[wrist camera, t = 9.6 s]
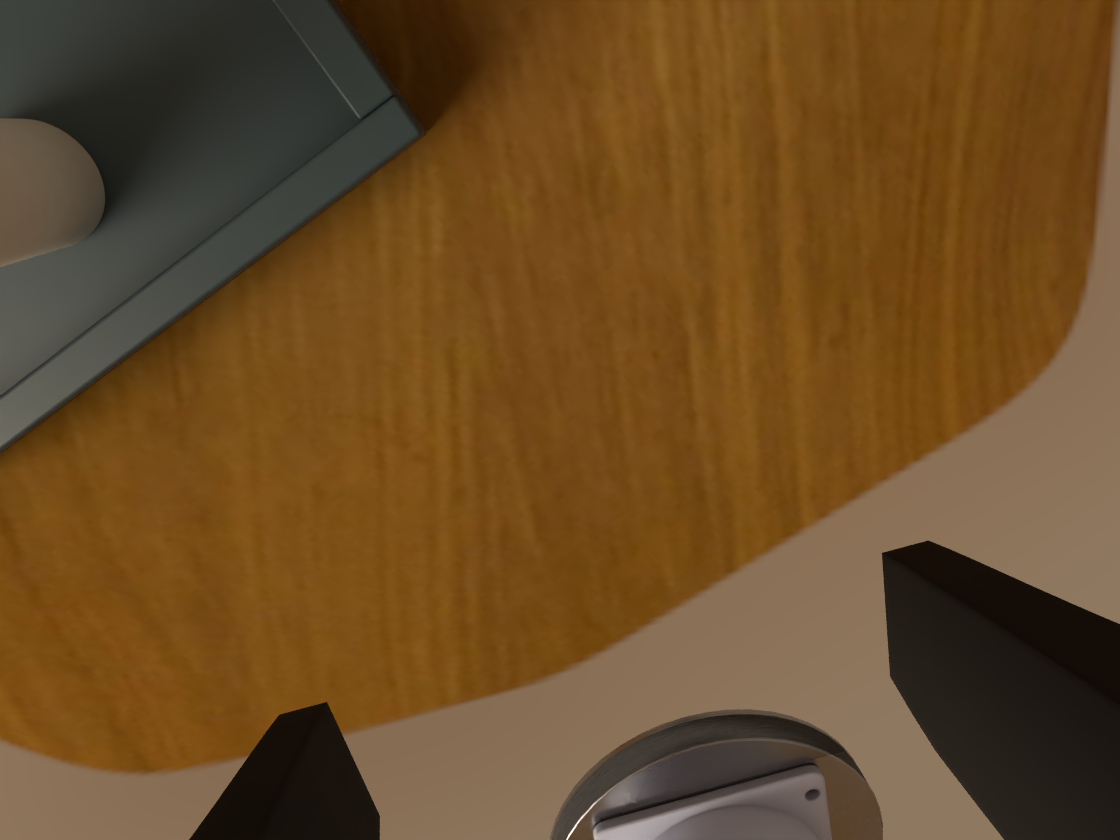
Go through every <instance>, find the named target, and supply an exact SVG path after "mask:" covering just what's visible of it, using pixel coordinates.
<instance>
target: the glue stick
mask: <svg viewBox="0 0 1120 840" xmlns="http://www.w3.org/2000/svg"><path fill="white" fill-rule="evenodd" d="M104 206H105V191H104V185H103V181H102V177H101V175H100V172H99V170H98V168H97V166H96V164H95V162H94V161H93V159H92V158H91V156H90V155H89V154H88V152H87V151H86V150H85V149H84V148H83V147H82V146H81V145H80V144H79V143H78V142H77V141H76V140H75V139H74V138H72V137H71V136H70V135H68V134H67V133H65V132H64V131H62V130H60V129H59V128H56V127H54V126H52V125H50V124H47V123H44V122H41V121H37V120H32V119H13V118H0V267H2V266H6V265H9V264H12V263H15V262H19V261H22V260H25V259H28V258H32V257H35V256H38V255H42V254H45V253H48V252H51V251H55V250H58V249H61V248H65V247H68V246H71V245H74V244H76V243H78V242H80V241H82V240H84V239H85V238H87V237H88V236H89V235H90V234H91V233H92V232H93V231H94V230H95V228H96V227H97V226H98V224H99V222H100V220H101V218H102V215H103V212H104Z"/></svg>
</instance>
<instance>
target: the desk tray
mask: <svg viewBox="0 0 1120 840" xmlns="http://www.w3.org/2000/svg"><path fill="white" fill-rule="evenodd" d="M0 118H13V119H32V120H37V121H41V122H44V123H47V124H50V125H52V126H54V127H56V128H59V129H60V130H62V131H64V132H65V133H67V134H68V135H70V136H71V137H72V138H74V139H75V140H76V141H77V142H78V143H79V144H80V145H81V146H82V147H83V148H84V149H85V150H86V151H87V152H88V154H89V155H90V156H91V158H92V159H93V161H94V162H95V164H96V166H97V168H98V170H99V172H100V175H101V177H102V181H103V185H104V191H105V206H104V212H103V215H102V218H101V220H100V222H99V224H98V226H97V227H96V228H95V230H94V231H93V232H92V233H91V234H90V235H89V236H88V237H87V238H85V239H84V240H82V241H80V242H78V243H76V244H74V245H71V246H68V247H65V248H61V249H58V250H55V251H51V252H48V253H45V254H42V255H38V256H35V257H32V258H28V259H25V260H22V261H19V262H15V263H12V264H9V265H6V266H2V267H0V454H1V453H2V452H4V451H5V450H6V449H8V448H9V447H10V446H12V445H13V444H14V443H16V442H17V441H18V440H20V439H21V438H22V437H24V436H25V435H26V434H27V433H29V432H30V431H31V430H33V429H34V428H35V427H37V426H38V425H39V424H41V423H42V422H43V421H45V420H46V419H47V418H49V417H50V416H51V415H53V414H54V413H55V412H57V411H58V410H59V409H61V408H62V407H63V406H65V405H66V404H67V403H69V402H70V401H71V400H73V399H74V398H75V397H77V396H78V395H79V394H81V393H82V392H83V391H85V390H86V389H87V388H89V387H90V386H91V385H93V384H94V383H95V382H97V381H98V380H99V379H101V378H102V377H103V376H105V375H106V374H107V373H109V372H110V371H111V370H113V369H114V368H115V367H117V366H118V365H119V364H121V363H122V362H123V361H125V360H126V359H127V358H129V357H130V356H131V355H133V354H134V353H135V352H137V351H138V350H139V349H141V348H142V347H143V346H145V345H146V344H147V343H149V342H150V341H151V340H153V339H154V338H155V337H157V336H158V335H159V334H161V333H162V332H163V331H165V330H166V329H167V328H169V327H170V326H171V325H173V324H174V323H175V322H177V321H178V320H179V319H181V318H182V317H183V316H185V315H186V314H187V313H189V312H190V311H191V310H193V309H194V308H195V307H197V306H198V305H199V304H201V303H202V302H203V301H205V300H206V299H207V298H209V297H210V296H211V295H213V294H214V293H215V292H217V291H218V290H219V289H221V288H222V287H223V286H225V285H226V284H227V283H229V282H230V281H231V280H233V279H234V278H235V277H237V276H238V275H239V274H241V273H242V272H243V271H245V270H246V269H247V268H249V267H250V266H251V265H253V264H254V263H255V262H257V261H258V260H259V259H261V258H262V257H263V256H265V255H266V254H267V253H269V252H270V251H271V250H273V249H274V248H275V247H277V246H278V245H279V244H281V243H282V242H283V241H285V240H286V239H287V238H289V237H290V236H291V235H293V234H294V233H295V232H297V231H298V230H299V229H301V228H302V227H303V226H305V225H306V224H307V223H309V222H310V221H311V220H313V219H314V218H315V217H317V216H318V215H319V214H321V213H322V212H323V211H325V210H326V209H327V208H329V207H330V206H331V205H333V204H334V203H335V202H337V201H338V200H339V199H341V198H342V197H343V196H345V195H346V194H347V193H349V192H350V191H351V190H353V189H354V188H355V187H357V186H358V185H359V184H361V183H362V182H363V181H365V180H366V179H367V178H369V177H370V176H371V175H373V174H374V173H375V172H377V171H378V170H379V169H381V168H382V167H383V166H385V165H386V164H387V163H389V162H390V161H391V160H393V159H394V158H395V157H397V156H398V155H399V154H401V153H402V152H403V151H404V150H406V149H407V148H408V147H410V146H411V145H412V144H414V143H415V142H416V141H418V140H419V139H420V138H422V137H423V136H424V135H426V133H427V132H426V129H425V128H424V127H423V125H422V124H421V122H420V121H419V119H418V118H417V117H416V115H415V114H414V112H413V111H412V109H411V108H410V107H409V105H408V104H407V102H406V101H405V99H404V98H403V97H402V95H401V94H400V92H399V91H398V89H397V88H396V87H395V85H394V84H393V82H392V81H391V79H390V78H389V77H388V75H387V74H386V72H385V71H384V69H383V68H382V67H381V65H380V64H379V62H378V61H377V59H376V58H375V57H374V55H373V54H372V52H371V51H370V49H369V48H368V47H367V45H366V44H365V42H364V41H363V39H362V38H361V37H360V35H359V34H358V32H357V31H356V29H355V28H354V27H353V25H352V24H351V22H350V21H349V19H348V18H347V17H346V15H345V14H344V12H343V11H342V9H341V8H340V7H339V5H338V4H337V2H336V1H335V0H0Z"/></svg>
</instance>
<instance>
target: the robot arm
mask: <svg viewBox="0 0 1120 840" xmlns="http://www.w3.org/2000/svg"><path fill="white" fill-rule="evenodd" d="M882 560H883V575H884V590H885V604H886V620H887V635H888V649H889V664H890V676H891V679H892V680H893V682H894V684H895V685H896V687H897V689H898V690H899V692H900V694H901V696H902V697H903V699H904V700H905V702H906V704H907V706H908V707H909V709H910V711H911V712H912V714H913V716H914V717H915V719H916V721H917V722H918V724H919V725H920V727H921V729H922V730H923V732H924V733H925V735H926V736H927V738H928V740H929V741H930V743H931V744H932V746H933V748H934V749H935V751H936V752H937V753H938V755H939V756H940V757H941V759H942V760H943V761H944V762H945V764H946V765H947V767H948V768H949V769H950V770H951V772H952V773H953V774H954V776H955V777H956V778H957V779H958V781H959V782H960V783H961V785H962V786H963V787H964V789H965V790H966V791H967V792H968V794H969V795H970V796H971V798H972V799H973V800H974V801H975V803H976V804H977V805H978V807H979V808H980V809H981V810H982V812H983V813H984V814H985V816H986V817H987V818H988V819H989V821H990V822H991V823H992V824H993V826H994V827H995V828H996V830H997V831H998V832H999V833H1000V835H1001V836H1002V837H1003V838H1004V840H1120V624H1118V623H1116V622H1113V621H1111V620H1108V619H1106V618H1104V617H1101V616H1099V615H1097V614H1094V613H1092V612H1090V611H1088V610H1085V609H1083V608H1081V607H1078V606H1076V605H1073V604H1071V603H1069V602H1067V601H1065V600H1062V599H1060V598H1058V597H1056V596H1053V595H1051V594H1049V593H1046V592H1044V591H1042V590H1040V589H1037V588H1035V587H1033V586H1031V585H1029V584H1026V583H1024V582H1022V581H1020V580H1017V579H1015V578H1013V577H1011V576H1009V575H1006V574H1004V573H1002V572H1000V571H998V570H995V569H993V568H991V567H989V566H986V565H984V564H982V563H980V562H977V561H975V560H973V559H971V558H968V557H966V556H964V555H961V554H959V553H957V552H955V551H952V550H950V549H948V548H945V547H943V546H940V545H938V544H935V543H933V542H930V541H925V542H922V543H918V544H914V545H910V546H906V547H903V548H899V549H895V550H892V551H888V552H884V553H882ZM379 831H380V816H379V813H378V811H377V809H376V807H375V805H374V802H373V800H372V798H371V796H370V794H369V792H368V790H367V787H366V785H365V783H364V781H363V779H362V777H361V774H360V773H359V770H358V768H357V766H356V764H355V762H354V759H353V757H352V756H351V753H350V751H349V749H348V746H347V744H346V742H345V740H344V738H343V736H342V734H341V731H340V729H339V727H338V725H337V723H336V721H335V718H334V716H333V714H332V712H331V710H330V708H329V706H328V703H327V702H325V703H322V704H318V705H314V706H310V707H307V708H303V709H299V710H296V711H292V712H288V713H284V714H281V715H279V716H278V717H277V719H276V720H275V721H274V722H273V724H272V725H271V726H270V728H269V729H268V730H267V732H266V733H265V734H264V736H263V737H262V739H261V740H260V741H259V743H258V744H257V746H256V747H255V748H254V750H253V751H252V753H251V754H250V755H249V757H248V758H247V760H246V761H245V762H244V764H243V765H242V767H241V768H240V770H239V771H238V772H237V774H236V775H235V777H234V778H233V779H232V781H231V782H230V784H229V785H228V786H227V788H226V789H225V791H224V792H223V794H222V795H221V796H220V798H219V799H218V801H217V802H216V804H215V805H214V807H213V808H212V809H211V810H210V812H209V813H208V815H207V816H206V817H205V819H204V820H203V822H202V823H201V824H200V826H199V827H198V829H197V830H196V831H195V833H194V834H193V836H192V837H191V838H190V839H189V840H380V838H379V837H380V832H379ZM593 838H594V840H832V837H831V828H830V820H829V812H828V803H827V795H826V787H825V779H824V777H823V775H822V773H821V771H820V769H819V768H818V767H816V766H814V765H804V766H801V767H797V768H794V769H790V770H786V771H783V772H779V773H775V774H772V775H768V776H764V777H761V778H757V779H754V780H750V781H746V782H743V783H739V784H735V785H732V786H728V787H724V788H721V789H717V790H714V791H710V792H706V793H703V794H699V795H695V796H692V797H688V798H684V799H681V800H677V801H674V802H670V803H666V804H663V805H659V806H655V807H652V808H648V809H644V810H641V811H637V812H634V813H630V814H626V815H623V816H619V817H615V818H612V819H608V820H604V821H602V822H600V823H599V824H597V825H596V826H595V828H594V830H593Z"/></svg>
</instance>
